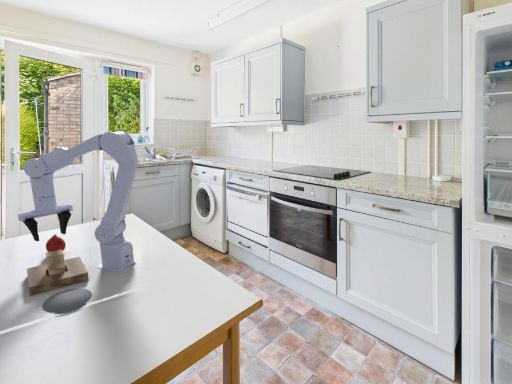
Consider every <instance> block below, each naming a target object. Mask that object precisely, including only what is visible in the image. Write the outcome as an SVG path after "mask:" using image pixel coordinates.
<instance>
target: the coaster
mask: <svg viewBox="0 0 512 384" xmlns="http://www.w3.org/2000/svg"><path fill="white" fill-rule="evenodd" d="M92 296H93V294H92V291H91V290H89V289H87V288H83V287H82V288H70V289H67V290H63V291H59V292H57V293H55V294H53V295H51V296H49V297H48V298H46V300H45V301H44V302H43V304H42V309H43V310H44V311H45V312H48V313H53V315H60V314H67V313H70V312H74V311H76V310H78V309H81V308H83V307H84V306H86V305H87V304H88V303H87V302H89V301H90V299H91V298H92Z"/></svg>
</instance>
